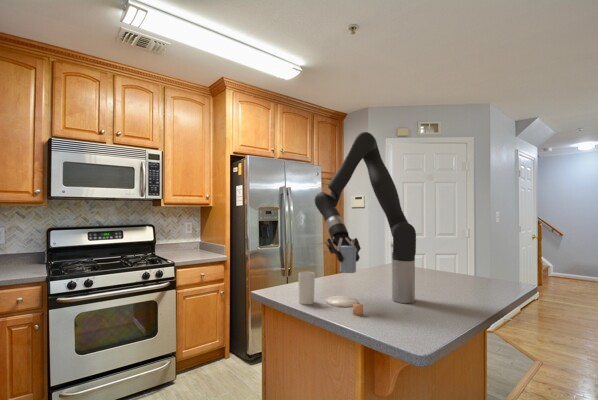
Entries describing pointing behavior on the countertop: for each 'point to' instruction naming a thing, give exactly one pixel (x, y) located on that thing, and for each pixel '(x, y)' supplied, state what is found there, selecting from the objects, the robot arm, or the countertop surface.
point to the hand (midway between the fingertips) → (349, 260)
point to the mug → (306, 287)
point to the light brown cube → (357, 309)
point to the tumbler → (348, 259)
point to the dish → (341, 301)
